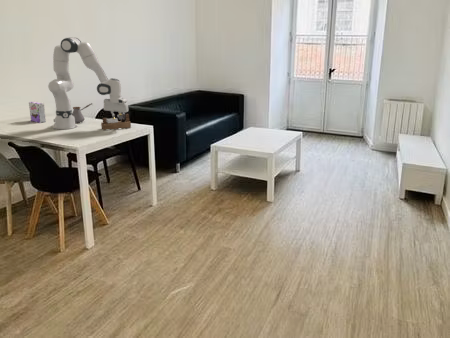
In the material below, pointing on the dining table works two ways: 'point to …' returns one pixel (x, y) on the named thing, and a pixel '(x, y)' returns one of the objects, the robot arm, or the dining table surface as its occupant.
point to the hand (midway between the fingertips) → (116, 116)
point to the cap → (112, 120)
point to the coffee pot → (78, 114)
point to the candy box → (37, 112)
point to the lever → (122, 116)
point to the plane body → (116, 124)
